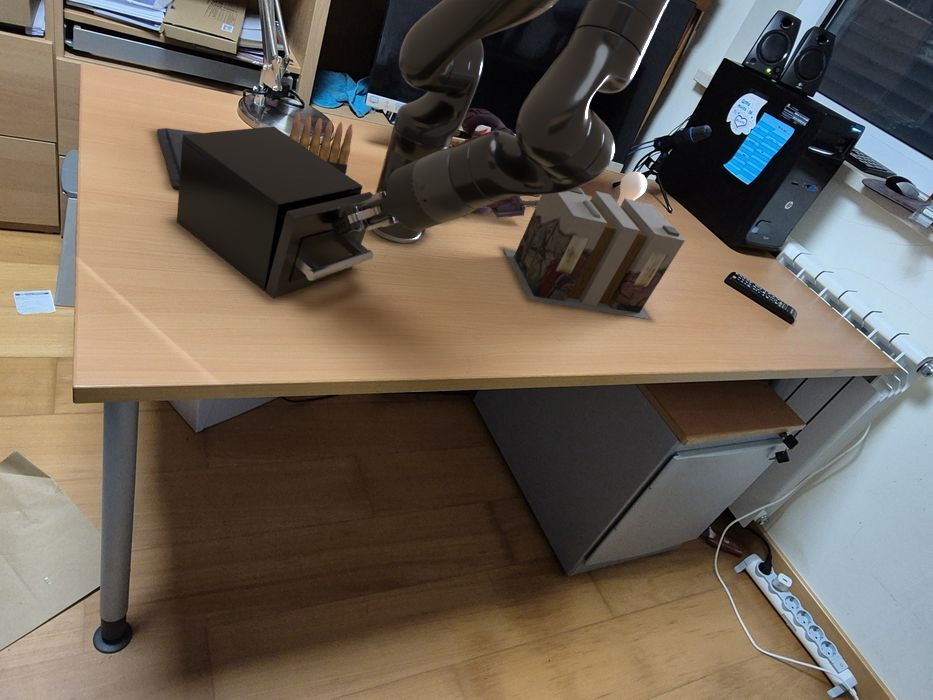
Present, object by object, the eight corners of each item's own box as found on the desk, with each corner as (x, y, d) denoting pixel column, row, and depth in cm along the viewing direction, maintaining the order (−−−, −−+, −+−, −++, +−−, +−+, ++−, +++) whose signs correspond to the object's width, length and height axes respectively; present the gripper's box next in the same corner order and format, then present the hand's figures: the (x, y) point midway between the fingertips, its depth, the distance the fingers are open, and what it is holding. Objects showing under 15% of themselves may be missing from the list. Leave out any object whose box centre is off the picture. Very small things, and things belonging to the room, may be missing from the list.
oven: (342, 263, 93) (362, 185, 85) (263, 291, 81) (278, 204, 74) (261, 204, 98) (273, 126, 90) (176, 222, 87) (182, 134, 79)
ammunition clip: (340, 186, 112) (355, 123, 105) (342, 191, 111) (357, 127, 104) (280, 176, 107) (291, 109, 100) (281, 182, 106) (293, 114, 99)
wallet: (157, 120, 104) (250, 134, 112) (156, 131, 105) (249, 144, 113) (170, 178, 91) (274, 189, 99) (169, 190, 92) (273, 200, 100)
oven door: (369, 284, 91) (397, 213, 84) (292, 316, 80) (316, 237, 72) (344, 263, 93) (369, 191, 85) (265, 291, 81) (286, 211, 74)
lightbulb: (633, 222, 150) (656, 181, 144) (614, 219, 147) (636, 177, 141) (620, 209, 154) (642, 169, 148) (601, 206, 151) (623, 164, 145)
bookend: (649, 318, 113) (697, 243, 104) (529, 300, 103) (570, 215, 94) (614, 270, 124) (655, 198, 115) (503, 249, 115) (538, 169, 105)
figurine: (520, 228, 125) (554, 151, 115) (462, 223, 117) (493, 140, 108) (477, 179, 137) (505, 106, 127) (422, 172, 130) (447, 94, 120)
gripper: (413, 233, 65) (310, 268, 76) (478, 210, 76) (380, 244, 86) (388, 163, 64) (287, 209, 75) (459, 149, 74) (361, 192, 85)
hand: (337, 228), depth 80 cm, fingers closed
